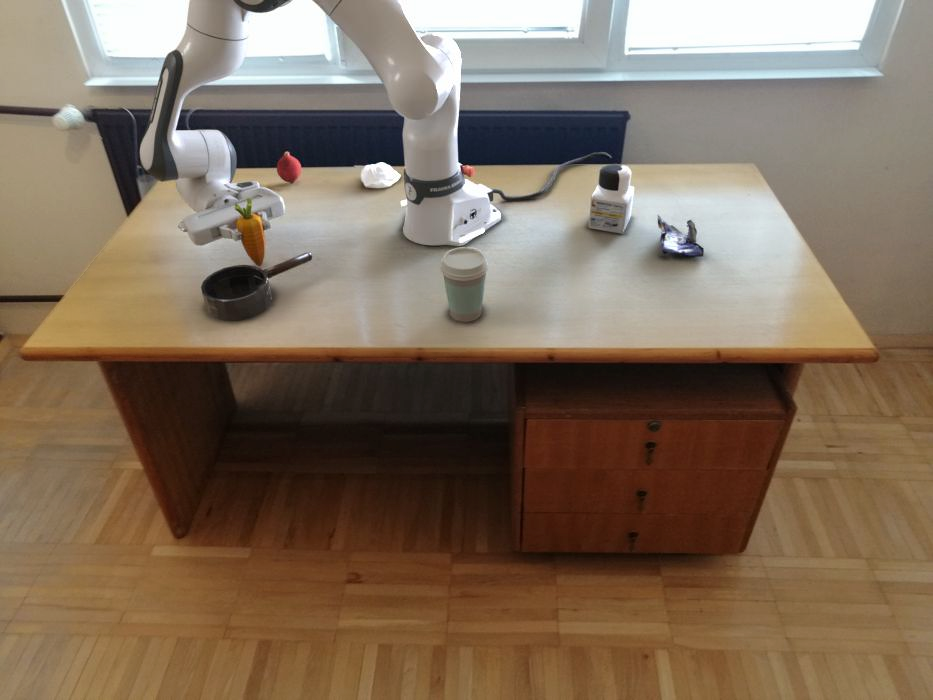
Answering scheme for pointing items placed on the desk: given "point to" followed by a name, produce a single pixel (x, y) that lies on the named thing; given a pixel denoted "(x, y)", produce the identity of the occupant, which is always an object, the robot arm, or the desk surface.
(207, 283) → the pan
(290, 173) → the onion
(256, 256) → the carrot
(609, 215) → the container
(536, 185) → the desk surface
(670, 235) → the snack package
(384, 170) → the white lumpy piece
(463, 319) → the coffee cup
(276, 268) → the pan handle
